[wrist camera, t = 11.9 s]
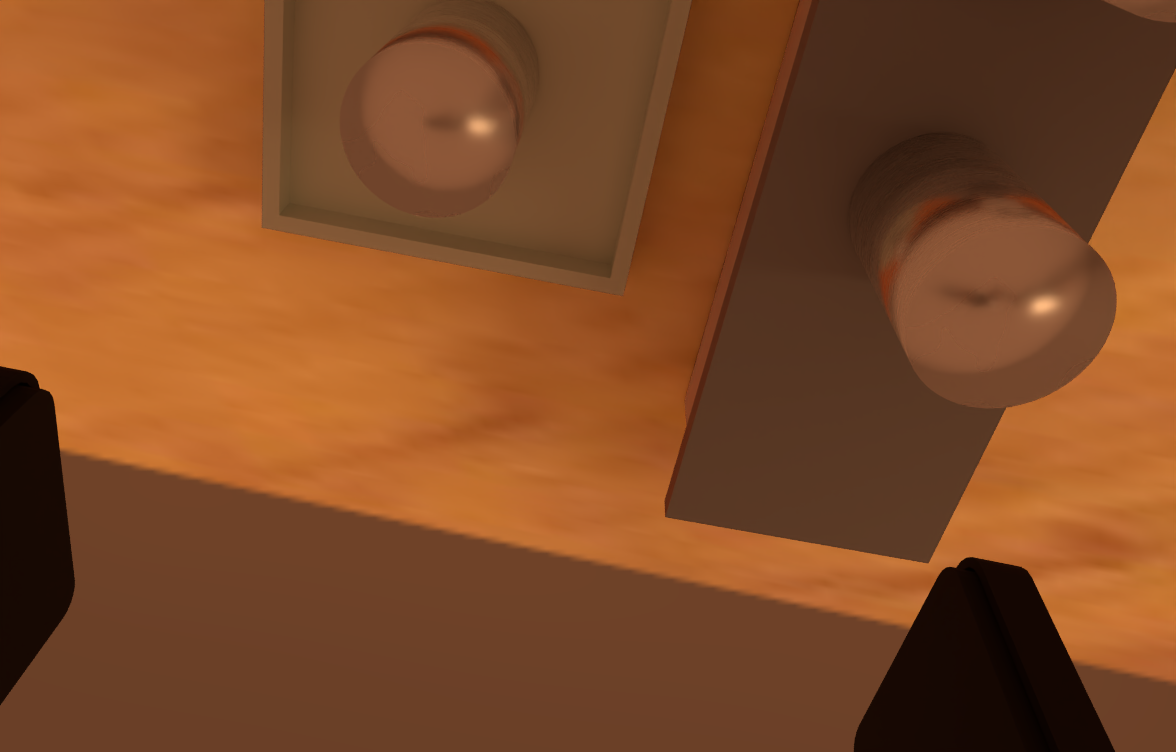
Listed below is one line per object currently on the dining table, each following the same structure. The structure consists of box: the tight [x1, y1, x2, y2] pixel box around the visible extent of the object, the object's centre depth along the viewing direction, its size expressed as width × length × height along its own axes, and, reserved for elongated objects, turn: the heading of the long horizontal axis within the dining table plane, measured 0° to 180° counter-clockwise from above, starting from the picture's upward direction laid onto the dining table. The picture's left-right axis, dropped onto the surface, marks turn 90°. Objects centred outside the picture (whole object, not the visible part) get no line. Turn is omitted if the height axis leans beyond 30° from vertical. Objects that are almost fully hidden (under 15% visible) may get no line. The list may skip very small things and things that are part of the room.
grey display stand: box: [665, 0, 1176, 563], centre depth 26 cm, size 22×8×5 cm, turn 169°
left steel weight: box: [340, 0, 539, 218], centre depth 24 cm, size 4×4×6 cm
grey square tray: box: [262, 0, 692, 296], centre depth 27 cm, size 11×11×2 cm
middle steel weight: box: [848, 132, 1116, 408], centre depth 21 cm, size 4×4×6 cm
